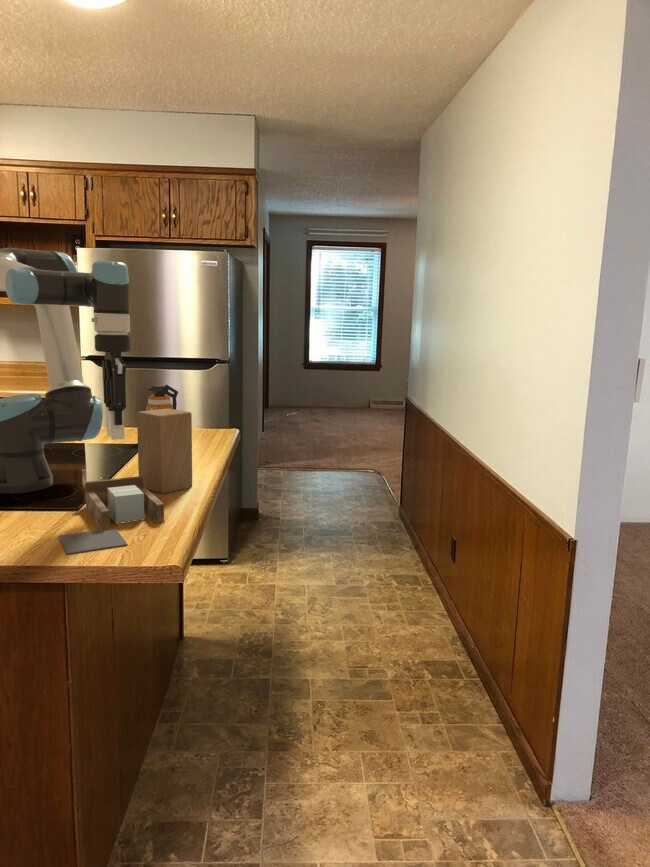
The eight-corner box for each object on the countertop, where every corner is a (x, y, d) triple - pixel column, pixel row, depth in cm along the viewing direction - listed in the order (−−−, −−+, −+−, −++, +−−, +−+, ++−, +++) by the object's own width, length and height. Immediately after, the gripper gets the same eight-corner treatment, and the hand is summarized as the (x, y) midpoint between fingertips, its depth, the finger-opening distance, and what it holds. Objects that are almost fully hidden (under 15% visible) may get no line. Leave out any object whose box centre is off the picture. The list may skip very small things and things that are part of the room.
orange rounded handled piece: (146, 438, 233) (145, 383, 230) (177, 437, 236) (176, 383, 233) (147, 442, 225) (146, 386, 221) (179, 441, 228) (178, 386, 225)
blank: (108, 513, 143) (107, 487, 142) (135, 510, 146) (134, 484, 145) (116, 524, 136) (115, 496, 135) (144, 520, 139) (144, 493, 138)
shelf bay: (86, 506, 148) (84, 481, 147) (142, 500, 154) (141, 476, 153) (102, 530, 132) (101, 502, 131) (164, 521, 138) (163, 494, 137)
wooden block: (169, 480, 173) (168, 408, 170) (193, 487, 167) (192, 412, 164) (138, 487, 166) (136, 411, 162) (161, 494, 159) (160, 415, 156)
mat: (58, 536, 127) (58, 535, 127) (115, 529, 133) (115, 527, 133) (67, 554, 118) (67, 553, 118) (127, 545, 123) (127, 544, 123)
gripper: (87, 332, 146) (91, 432, 150) (102, 334, 132) (106, 445, 136) (121, 332, 150) (124, 430, 154) (139, 335, 136) (141, 442, 140)
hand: (115, 437), depth 145 cm, fingers open, 4 cm apart
